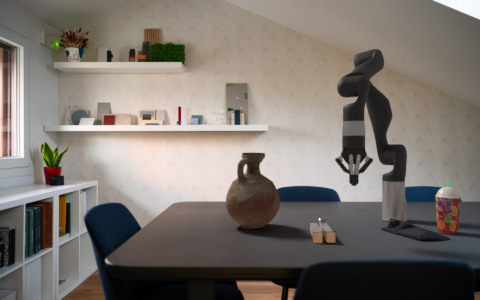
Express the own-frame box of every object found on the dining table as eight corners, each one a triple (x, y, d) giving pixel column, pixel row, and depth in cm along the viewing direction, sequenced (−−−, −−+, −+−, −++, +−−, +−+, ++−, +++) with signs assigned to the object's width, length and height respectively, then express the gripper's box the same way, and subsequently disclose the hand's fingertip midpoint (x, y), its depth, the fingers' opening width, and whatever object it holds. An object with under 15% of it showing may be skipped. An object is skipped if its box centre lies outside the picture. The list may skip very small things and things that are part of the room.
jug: (287, 224, 156) (286, 152, 156) (268, 235, 137) (268, 152, 136) (239, 220, 165) (239, 152, 165) (216, 230, 146) (215, 152, 146)
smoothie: (457, 231, 143) (458, 178, 143) (463, 236, 135) (463, 180, 135) (433, 229, 146) (433, 178, 146) (437, 234, 138) (437, 179, 138)
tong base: (309, 228, 148) (309, 217, 148) (325, 229, 147) (325, 217, 147) (313, 243, 125) (313, 229, 125) (333, 243, 125) (333, 230, 125)
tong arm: (319, 230, 144) (319, 222, 144) (326, 230, 144) (326, 222, 144) (326, 242, 125) (326, 233, 125) (335, 242, 125) (335, 233, 125)
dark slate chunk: (414, 243, 127) (414, 229, 127) (378, 230, 148) (378, 218, 148) (454, 241, 130) (454, 227, 130) (412, 228, 151) (412, 216, 151)
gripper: (371, 135, 132) (371, 184, 132) (332, 135, 133) (332, 184, 134) (376, 134, 125) (376, 186, 125) (335, 134, 126) (335, 186, 126)
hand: (353, 185), depth 129 cm, fingers closed
